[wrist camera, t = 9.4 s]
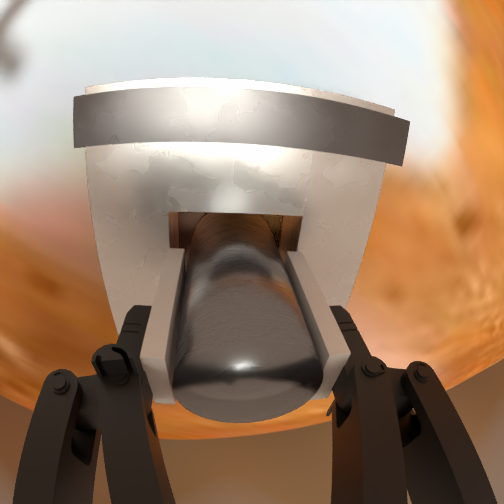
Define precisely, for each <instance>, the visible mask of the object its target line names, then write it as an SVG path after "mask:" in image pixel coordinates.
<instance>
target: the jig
mask: <svg viewBox="0 0 504 504" xmlns="http://www.w3.org/2000/svg"><path fill="white" fill-rule="evenodd" d="M394 113H395V110H394V109H391V108H388V107H385V106H381V105H378V104H375V103H371V102H367V101H364V100H360V99H356V98H352V97H348V96H344V95H339V94H335V93H330V92H325V91H320V90H315V89H310V88H304V87H298V86H291V85H285V84H277V83H269V82H260V81H249V80H236V79H215V78H170V79H151V80H138V81H127V82H118V83H111V84H103V85H97V86H91V87H86V89H85V95H81V96H76V97H74V107H73V130H74V148H80V147H85V153H86V169H87V181H88V192H89V201H90V209H91V216H92V223H93V229H94V236H95V241H96V247H97V252H98V257H99V262H100V267H101V272H102V276H103V280H104V285H105V289H106V293H107V297H108V301H109V304H110V308H111V312H112V315H113V319H114V322H115V326H116V329H117V332H118V335H119V334H120V332H121V328H122V325H123V324H124V323H123V322H124V319H125V316H126V314H127V312H128V311H129V310H130V309H131V308H132V307H133V306H134V305H146V306H152V304H153V301H154V297H155V293H156V290H157V286H158V283H159V279H160V276H161V272H162V269H163V266H164V262H165V259H166V256H167V253H168V249H169V248H176V249H179V222H178V212H217V213H247V214H270V215H283V222H282V229H281V236H280V242H279V249H278V250H279V253H280V255H281V258H282V260H283V263H284V265H285V260H286V254H287V251H293V252H302V253H303V255H304V257H305V259H306V261H307V263H308V265H309V267H310V269H311V271H312V273H313V275H314V277H315V279H316V281H317V283H318V285H319V287H320V289H321V291H322V293H323V295H324V297H325V299H326V301H327V303H328V305H329V306H336V305H341V306H342V307H343V308H344V309H346V306H347V303H348V300H349V298H350V295H351V292H352V289H353V286H354V283H355V280H356V277H357V274H358V271H359V267H360V264H361V261H362V258H363V254H364V251H365V248H366V244H367V241H368V237H369V233H370V230H371V226H372V222H373V219H374V215H375V211H376V207H377V203H378V198H379V194H380V190H381V185H382V181H383V176H384V171H385V166H386V163H389V164H394V165H398V166H402V164H403V159H404V154H405V149H406V143H407V137H408V131H409V125H410V121H407V120H404V119H401V118H398V117H394Z"/></svg>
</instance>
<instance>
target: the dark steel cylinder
mask: <svg viewBox="0 0 504 504" xmlns="http://www.w3.org/2000/svg"><path fill="white" fill-rule="evenodd" d="M323 376H324V375H323V369H322V366H321V363H320V360H319V357H318V354H317V352H316V349H315V346H314V343H313V341H312V338H311V335H310V332H309V330H308V327H307V324H306V321H305V319H304V316H303V313H302V311H301V308H300V305H299V302H298V300H297V297H296V294H295V292H294V289H293V286H292V284H291V281H290V279H289V276H288V273H287V271H286V268H285V265H284V263H283V260H282V258H281V255H280V253H279V250H278V247H277V245H276V242H275V240H274V237H273V235H272V232H271V230H270V227H269V225H268V223H267V222H266V220H265V219H264V218H263V217H262V216H261V215H260V214H247V213H217V212H209V213H207V214H206V215H205V216H204V217H203V218H202V219H201V220H200V221H199V222H198V224H197V225H196V227H195V229H194V232H193V236H192V241H191V247H190V253H189V259H188V265H187V271H186V278H185V284H184V291H183V298H182V305H181V312H180V320H179V327H178V336H177V344H176V353H175V362H174V372H173V383H172V388H173V393H174V396H175V397H176V399H177V400H178V402H179V403H180V404H181V405H182V406H183V407H185V408H186V409H187V410H189V411H190V412H192V413H194V414H196V415H198V416H201V417H204V418H207V419H210V420H215V421H220V422H228V423H250V422H258V421H264V420H269V419H272V418H276V417H279V416H282V415H285V414H287V413H289V412H291V411H293V410H295V409H297V408H299V407H300V406H302V405H304V404H305V403H306V402H307V401H309V400H310V399H311V398H312V397H313V396H314V395H315V394H316V393H317V391H318V390H319V388H320V386H321V384H322V381H323Z"/></svg>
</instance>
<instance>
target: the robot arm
mask: <svg viewBox="0 0 504 504" xmlns="http://www.w3.org/2000/svg"><path fill="white" fill-rule="evenodd" d="M285 268H286V271H287V273H288V276H289V279H290V281H291V284H292V286H293V289H294V292H295V294H296V297H297V300H298V302H299V305H300V308H301V311H302V313H303V316H304V319H305V321H306V324H307V327H308V330H309V332H310V335H311V338H312V341H313V343H314V346H315V349H316V352H317V354H318V357H319V360H320V363H321V366H322V369H323V375H324V376H323V381H322V384H321V386H320V388H319V390H318V391H317V393H316V394H315V395H314V396H313V397H312V398H311V399H310V400H315V399H323V398H328V396H329V395H330V393H331V391H333V394H334V397H335V399H334V401H333V403H332V404H331V406H330V408H329V409H328V411H327V415H326V416H329V415H330V414H331V412H332V429H333V431H332V432H333V433H332V436H333V453H332V457H333V459H332V460H333V461H332V492H331V504H408V503H407V490H408V493H409V496H410V499H411V502H412V504H497V501H496V499H495V496H494V493H493V490H492V488H491V485H490V482H489V480H488V477H487V475H486V472H485V470H484V468H483V465H482V463H481V461H480V458H479V456H478V454H477V452H476V449H475V447H474V445H473V443H472V441H471V439H470V437H469V435H468V433H467V431H466V429H465V427H464V425H463V423H462V421H461V419H460V417H459V415H458V413H457V411H456V409H455V407H454V405H453V404H452V402H451V400H450V398H449V396H448V394H447V393H446V391H445V389H444V387H443V386H442V384H441V382H440V380H439V379H438V377H437V375H436V373H435V372H434V370H433V369H432V368H431V367H430V366H429V365H428V364H426V363H424V362H421V361H414V362H412V363H410V364H409V366H408V367H407V369H396V368H389V367H387V366H386V364H385V363H384V362H383V361H382V360H380V359H378V358H377V357H374V356H371V354H370V352H369V350H368V348H367V346H366V344H365V342H364V341H363V339H362V337H361V335H360V333H359V331H358V330H357V327H356V325H355V323H353V322H354V321H353V320H352V318H351V316H350V314H349V313H348V312H347V311H346V310H345V309H344V308H343V307H342V306H341V305H336V306H329V305H328V303H327V301H326V299H325V297H324V295H323V293H322V291H321V289H320V287H319V285H318V283H317V281H316V279H315V277H314V275H313V273H312V271H311V269H310V267H309V265H308V263H307V261H306V259H305V257H304V255H303V253H302V252H293V251H287V254H286V260H285ZM185 278H186V274H185V249H176V248H169V249H168V253H167V256H166V259H165V262H164V266H163V269H162V272H161V276H160V279H159V283H158V286H157V290H156V293H155V297H154V301H153V304H152V306H146V305H134V306H133V307H132V308H131V309H130V310H129V311H128V312H127V314H126V316H125V319H124V322H123V323H124V324H123V325H122V328H121V332H120V334H119V338H118V341H117V344H109V345H104V346H103V347H101V348H99V349H98V350H97V351H96V352H95V353H94V355H93V357H92V361H91V362H92V364H93V366H94V368H95V370H96V372H97V374H96V375H92V376H85V377H76V376H75V375H74V374H73V373H72V372H71V371H69V370H66V369H59V370H56V371H53V372H52V373H50V374H49V375H48V376H47V378H46V379H45V381H44V384H43V386H42V389H41V392H40V395H39V397H38V400H37V403H36V406H35V409H34V412H33V415H32V419H31V422H30V425H29V429H28V432H27V436H26V439H25V443H24V447H23V451H22V455H21V460H20V464H19V468H18V473H17V479H16V484H15V490H14V497H13V504H92V502H93V490H94V481H95V472H96V465H97V457H98V451H99V445H100V439H101V434H102V443H103V452H104V462H105V469H106V475H107V481H108V487H109V493H110V498H111V503H112V504H176V503H175V499H174V496H173V493H172V489H171V486H170V483H169V479H168V475H167V472H166V468H165V465H164V460H163V456H162V452H161V448H160V443H159V439H158V434H157V429H156V424H155V419H154V414H153V411H152V409H151V405H152V397H153V399H154V402H155V403H161V404H175V401H176V397H175V396H174V393H173V388H172V383H173V372H174V362H175V353H176V344H177V336H178V327H179V320H180V312H181V305H182V298H183V291H184V284H185ZM412 408H414V410H415V412H416V413H415V412H414V411H413V410H412ZM406 487H407V488H406Z"/></svg>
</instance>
